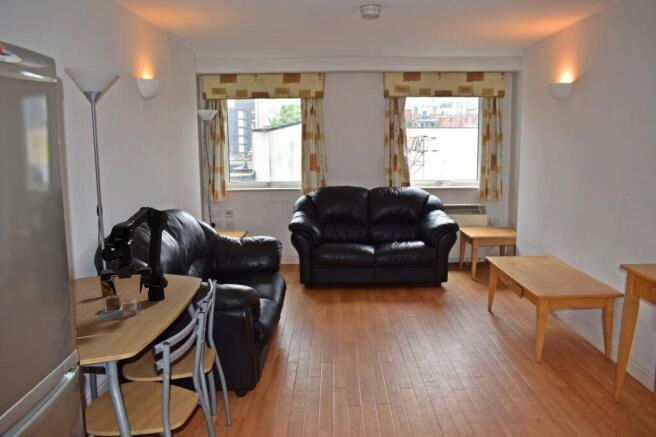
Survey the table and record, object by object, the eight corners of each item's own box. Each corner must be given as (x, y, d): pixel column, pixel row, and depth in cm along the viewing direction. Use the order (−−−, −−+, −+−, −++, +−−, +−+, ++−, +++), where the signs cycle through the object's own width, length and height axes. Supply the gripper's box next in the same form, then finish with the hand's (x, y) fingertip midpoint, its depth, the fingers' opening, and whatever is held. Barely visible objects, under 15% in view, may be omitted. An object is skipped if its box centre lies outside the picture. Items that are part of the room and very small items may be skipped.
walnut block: (121, 306, 229) (119, 294, 228) (120, 309, 224) (118, 297, 223) (108, 307, 227) (107, 295, 227) (107, 311, 223) (105, 299, 222)
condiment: (107, 299, 243) (105, 272, 241) (95, 296, 247) (92, 271, 245) (121, 294, 249) (118, 269, 248) (108, 292, 254) (106, 267, 252)
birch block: (137, 311, 221) (136, 299, 220) (136, 314, 216) (135, 302, 216) (124, 312, 220) (122, 300, 219) (123, 316, 215) (121, 304, 214)
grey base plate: (142, 304, 233) (142, 302, 232) (140, 317, 215) (140, 315, 215) (102, 309, 228) (102, 307, 228) (96, 322, 211) (96, 320, 211)
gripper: (96, 263, 204) (100, 303, 207) (148, 258, 209) (152, 297, 212) (100, 257, 215) (104, 295, 217) (149, 252, 220) (153, 289, 222)
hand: (128, 294), depth 217 cm, fingers open, 9 cm apart
